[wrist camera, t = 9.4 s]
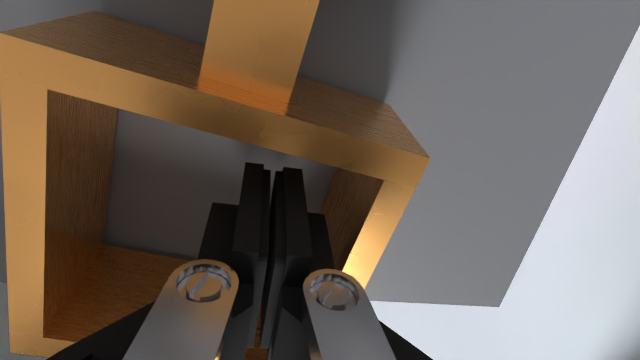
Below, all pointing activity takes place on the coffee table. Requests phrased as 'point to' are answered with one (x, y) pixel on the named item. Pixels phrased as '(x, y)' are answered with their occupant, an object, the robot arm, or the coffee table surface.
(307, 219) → the robot arm
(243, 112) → the wooden box with dish
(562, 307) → the coffee table surface
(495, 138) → the base plate
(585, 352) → the coffee table surface
